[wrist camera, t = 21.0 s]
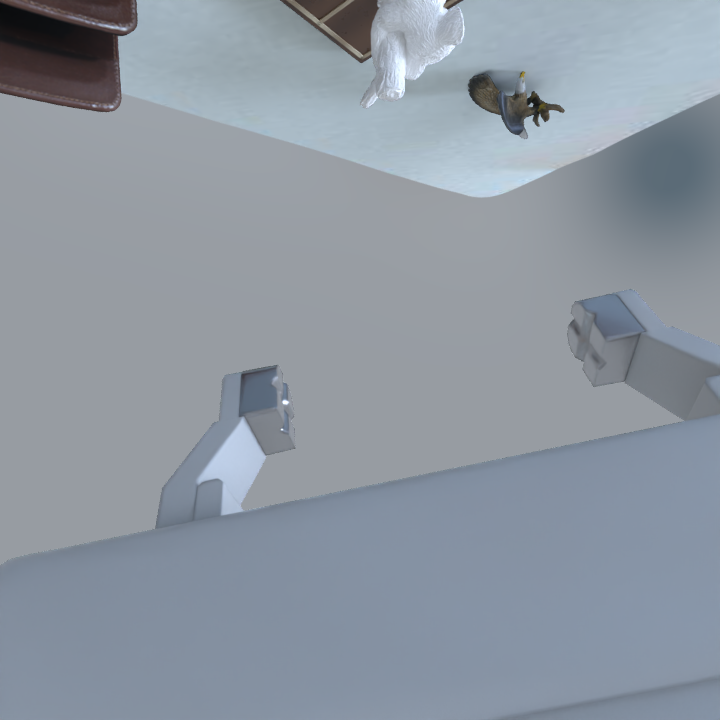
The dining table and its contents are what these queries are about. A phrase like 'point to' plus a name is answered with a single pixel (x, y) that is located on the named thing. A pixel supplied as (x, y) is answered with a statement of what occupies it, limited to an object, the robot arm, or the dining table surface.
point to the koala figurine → (409, 43)
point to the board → (344, 21)
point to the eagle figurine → (510, 103)
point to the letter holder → (64, 50)
